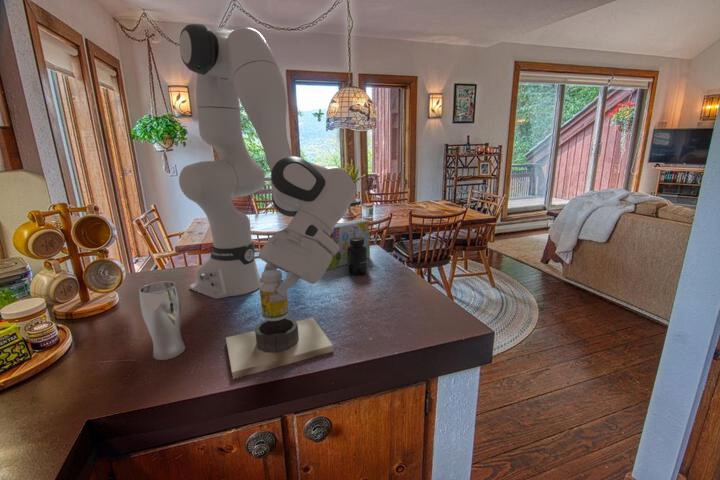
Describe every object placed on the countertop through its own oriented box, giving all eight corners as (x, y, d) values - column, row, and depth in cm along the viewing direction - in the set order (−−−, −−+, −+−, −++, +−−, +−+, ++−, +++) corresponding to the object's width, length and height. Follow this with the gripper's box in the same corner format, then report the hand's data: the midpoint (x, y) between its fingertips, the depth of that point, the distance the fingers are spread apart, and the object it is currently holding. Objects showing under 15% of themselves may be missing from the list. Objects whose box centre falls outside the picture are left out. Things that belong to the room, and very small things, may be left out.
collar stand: (233, 379, 65) (229, 355, 63) (226, 343, 77) (223, 323, 76) (333, 351, 73) (332, 330, 72) (312, 323, 85) (311, 304, 84)
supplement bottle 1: (291, 318, 72) (287, 274, 69) (264, 324, 70) (259, 279, 67) (286, 308, 76) (282, 266, 74) (261, 313, 74) (256, 270, 72)
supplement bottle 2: (365, 276, 115) (364, 241, 112) (345, 275, 117) (344, 241, 114) (369, 269, 122) (368, 236, 119) (350, 268, 123) (349, 236, 120)
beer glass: (162, 365, 70) (149, 296, 66) (144, 355, 73) (130, 289, 70) (194, 348, 75) (183, 284, 72) (175, 340, 79) (164, 278, 75)
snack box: (361, 255, 139) (360, 218, 135) (370, 258, 135) (369, 220, 131) (316, 267, 126) (314, 227, 122) (325, 271, 122) (323, 229, 118)
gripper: (274, 219, 80) (238, 269, 77) (325, 232, 65) (284, 295, 62) (292, 234, 84) (259, 283, 81) (345, 250, 69) (307, 310, 66)
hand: (270, 288), depth 71 cm, fingers closed on supplement bottle 1, 5 cm apart
